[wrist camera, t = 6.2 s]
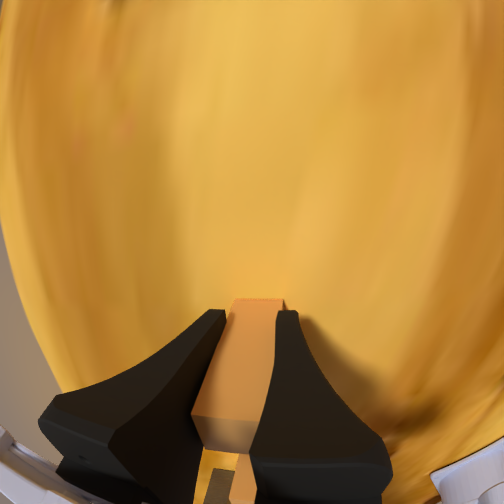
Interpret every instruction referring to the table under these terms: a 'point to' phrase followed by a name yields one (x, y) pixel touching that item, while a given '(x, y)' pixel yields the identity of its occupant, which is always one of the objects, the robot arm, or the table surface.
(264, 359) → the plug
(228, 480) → the housing
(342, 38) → the table surface
